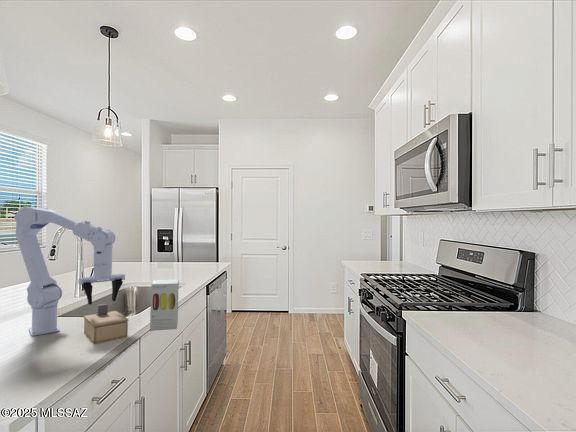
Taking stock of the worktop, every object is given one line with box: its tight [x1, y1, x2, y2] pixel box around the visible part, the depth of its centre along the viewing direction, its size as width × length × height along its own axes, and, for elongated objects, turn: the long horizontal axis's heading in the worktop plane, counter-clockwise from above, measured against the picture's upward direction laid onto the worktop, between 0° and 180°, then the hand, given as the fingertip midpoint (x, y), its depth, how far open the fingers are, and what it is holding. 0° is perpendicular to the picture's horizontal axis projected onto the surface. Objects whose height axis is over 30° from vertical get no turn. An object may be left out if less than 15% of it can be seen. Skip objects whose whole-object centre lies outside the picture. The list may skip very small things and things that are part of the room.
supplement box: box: [149, 278, 180, 332], centre depth 125 cm, size 10×9×17 cm
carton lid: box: [83, 303, 129, 327], centre depth 115 cm, size 14×10×4 cm
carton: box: [83, 318, 129, 345], centre depth 115 cm, size 14×10×5 cm
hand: (102, 302), depth 119 cm, fingers open, 7 cm apart
